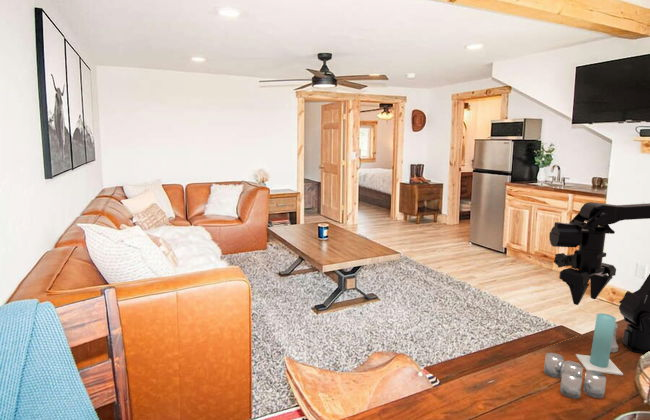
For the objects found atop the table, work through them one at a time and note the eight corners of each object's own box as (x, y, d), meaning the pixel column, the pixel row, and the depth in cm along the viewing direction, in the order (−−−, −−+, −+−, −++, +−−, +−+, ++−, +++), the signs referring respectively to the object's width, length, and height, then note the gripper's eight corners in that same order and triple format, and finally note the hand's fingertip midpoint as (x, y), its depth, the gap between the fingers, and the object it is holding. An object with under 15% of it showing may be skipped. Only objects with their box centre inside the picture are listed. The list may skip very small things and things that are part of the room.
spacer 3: (599, 389, 95) (601, 371, 94) (607, 399, 91) (609, 381, 91) (580, 386, 96) (582, 369, 95) (587, 396, 92) (589, 378, 92)
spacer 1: (559, 370, 103) (560, 353, 102) (564, 378, 99) (566, 361, 99) (541, 368, 104) (543, 351, 103) (546, 376, 100) (548, 359, 100)
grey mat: (608, 359, 109) (608, 358, 109) (622, 375, 101) (623, 373, 101) (575, 355, 111) (575, 354, 111) (587, 370, 103) (587, 369, 103)
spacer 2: (577, 379, 99) (579, 361, 99) (583, 388, 96) (585, 370, 95) (559, 376, 100) (561, 359, 100) (564, 385, 96) (566, 368, 96)
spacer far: (576, 389, 95) (578, 372, 94) (583, 400, 91) (585, 381, 90) (557, 387, 96) (559, 369, 95) (563, 397, 92) (565, 379, 91)
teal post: (604, 360, 107) (611, 314, 105) (610, 368, 104) (618, 321, 101) (587, 358, 108) (594, 312, 106) (593, 366, 105) (600, 318, 102)
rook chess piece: (612, 346, 117) (615, 319, 115) (621, 353, 112) (625, 326, 111) (595, 345, 117) (599, 318, 116) (604, 352, 113) (608, 325, 111)
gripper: (579, 239, 124) (573, 287, 127) (543, 245, 115) (538, 298, 117) (620, 246, 115) (613, 299, 117) (585, 254, 105) (578, 311, 108)
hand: (584, 301), depth 115 cm, fingers open, 9 cm apart
